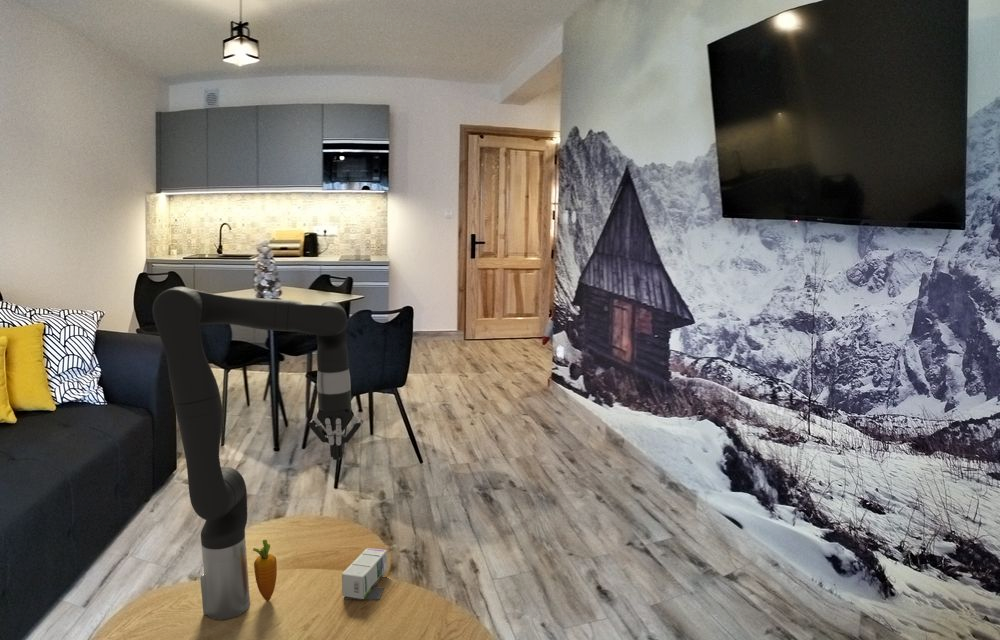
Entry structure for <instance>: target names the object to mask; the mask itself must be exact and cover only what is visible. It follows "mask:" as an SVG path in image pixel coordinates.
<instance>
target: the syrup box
mask: <svg viewBox="0 0 1000 640" xmlns="http://www.w3.org/2000/svg"><path fill="white" fill-rule="evenodd" d="M387 572H388V551H387V550H386V549H381V548H373V547H372V548H370V547H366V549H364V550H363V552H362V553H360V554H359V555H358V557H357V558H356V559H354V561H353V562H352V563H351V564H350V565H349V566H348V567H347V568H346V569H345V570H344V571H343V572H342V574H341V595H342V596H341V597H345V596H346V597H353V598H359V599H358V600H362V599H364V598H365V597H366V596H367V595H368V594H369V592H370V591H371V590H372V589H373V588H375V586H376V585H377V584H378V583H379V581H381V580H382V578H384V575H385V574H386V573H387Z"/></svg>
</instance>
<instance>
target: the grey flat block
mask: <svg viewBox="0 0 1000 640" xmlns="http://www.w3.org/2000/svg"><path fill="white" fill-rule="evenodd" d="M383 592H384V587H374V588H373V589H372V590H371V591H370V592H369V594H368V595H367V596H366V597H365V598H364V599H365V600H366V599H370V600H371V599H372V600H371V601H380V599H381V596H382V594H383ZM343 599H344V600H360V599H359V598H353V597H346V596H343ZM364 599H363V601H364ZM373 599H374V600H373ZM370 600H369V601H370ZM366 601H367V600H366Z"/></svg>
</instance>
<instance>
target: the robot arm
mask: <svg viewBox="0 0 1000 640" xmlns="http://www.w3.org/2000/svg"><path fill="white" fill-rule="evenodd" d="M151 310H152V311H151V312H152V316H153V320H154V322H155V326H156V330H157V332H158V334H159V338H160V341H161V344H162V347H163V349H164V353H165V358H166V363H167V371H168V377H169V383H170V388H171V395H172V401H173V402H172V403H173V405H174V409H175V410H174V411H175V415H176V419H177V423H178V427H179V432H180V438H181V443H182V447H183V453H184V457H185V463H186V472H187V482H188V483H187V484H188V494H189V500H190V504H191V507H192V509H193V510H194V512H195V513H196V515H197V516H198V517H199V518H201V519H202V520H205V522H204V525H203V527H202V529H201V531H200V543H201V555H202V556H201V557H202V564H203V565H202V566H203V567H202V569H203V573H201V575H200V579H199V580H200V589H201V590H200V591H201V603H202V613H203V616H208V617H209V618H211V619H214V620H228V619H233V618H236V617H238V616H240V615H241V614H243V613H245V612H246V611H247V610H248V609H249V607H250V605H251V598H250V597H251V593H250V584H249V583H250V582H249V569H248V568H249V567H248V557H247V556H248V555H247V545H246V526H247V522H248V492H247V485H246V482H245V479H244V477H243V476H242V474H241V473H240V472H239V471H238V470H237V469H236V468H232V467H229V466H223V467H222V465H221V460H220V448H221V440H222V439H221V438H222V433H223V426H224V425H223V424H224V408H223V402H222V397H221V394H220V393H221V392H220V389H219V385H218V382H217V379H216V376H215V374H214V372H213V370H212V368H211V365H210V363H209V362H208V359H207V357H206V353H205V349H204V347H203V339H202V332H201V325H214V324H218V325H219V324H221V325H233V326H234V325H235V326H240V327H246V328H252V329H257V330H264V331H274V332H275V331H276V332H299V333H303V334H309V335H315V336H316V340H317V352H316V363H317V366H316V367H317V373H316V374H317V376H316V382H317V383H316V391H317V407H318V408H317V409H318V410H317V413H316V416H315V417H314V418H313V419H311V420H310V421H309V422H308V423H307V426H308V427H309V429H311V430H312V432H313V433H314V434H315V436H316V437H318V439H319V440H320V441H321V442H322V443H323V444H324V443H327V444H329V450H330V453H329V454H330V455H329V456H330V457H331V458H332V459H333V460H334V461H340V460H341V459H342V457H343V456H344V454H345V451H344V450H345V448H344V447H345V445H344V444H346V443H347V444H348V443H349V442H350V440H351V439H352V438H353V436H354V435H355V433H357V431H358V430H359V429H360V427H361V426H362V425H363V424H364V421H363V420H362V419H358V418H356V417H355V413H354V412H353V409H352V389H351V387H352V385H351V375H350V366H349V351H348V345H347V325H348V316H347V312H346V310H345V308H344V307H343V306H342V305H341V304H340V303H338V302H336V301H330V300H329V301H326V302H322V303H321V304H309V303H303V302H301V301H299V300H293V299H292V300H291V299H279V298H278V299H277V298H261V297H259V298H257V297H256V298H255V297H238V296H237V297H236V296H227V295H223V294H221V295H220V294H215V293H212V292H211V293H210V292H207V291H202V290H201V291H200V290H199V289H198V290H197V289H193V288H189V287H187V286H174V287H170V288H168V289H166V290H163V291H162V292H161V293H159V294H158V295H157V296H156V298H155V299H154V302H153V304H152V309H151ZM349 424H350V426H351V429H350V430H349V432H348V433H347V435H345V432H346V428H347V427H348V426H349ZM322 426H323V427H322Z"/></svg>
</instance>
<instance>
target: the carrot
mask: <svg viewBox="0 0 1000 640" xmlns="http://www.w3.org/2000/svg"><path fill="white" fill-rule="evenodd" d="M262 545H263V546H262V547H261V548H260V549H259V548H255V547H254V548H253V549H252V551H253V552H256V553H257V554H259V556H256V559H255V560H254V562H253V569H254V576H255V581H256V582H255V583H256V585H257V589H258V592H259V594H260V595H261V597H262V598H263V599H264V600H265V601H266V602H269V601H271V599H272V596H273V593H274V591H275V588H276V583H277V574H278V571H277V570H278V569H277V567H278V566H277V563H278V562H277V558H276V556H275V555H273V554H271V553H269V551H270V549H271V544H270V543H268V540H267V539H263V540H262Z"/></svg>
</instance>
